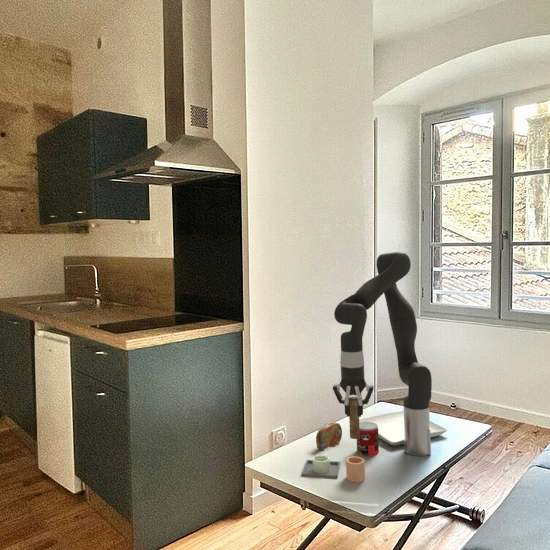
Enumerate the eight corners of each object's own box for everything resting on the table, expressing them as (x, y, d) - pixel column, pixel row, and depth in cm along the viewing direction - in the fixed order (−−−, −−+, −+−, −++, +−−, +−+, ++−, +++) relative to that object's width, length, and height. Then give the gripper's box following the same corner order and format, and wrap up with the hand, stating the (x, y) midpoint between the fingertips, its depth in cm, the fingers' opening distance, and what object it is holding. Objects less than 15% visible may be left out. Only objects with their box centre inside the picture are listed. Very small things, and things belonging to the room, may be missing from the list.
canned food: (353, 452, 187) (352, 423, 186) (371, 448, 190) (370, 420, 189) (363, 460, 180) (363, 430, 179) (382, 456, 183) (382, 426, 182)
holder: (330, 466, 173) (330, 455, 173) (328, 474, 168) (328, 462, 167) (314, 465, 175) (314, 454, 174) (311, 472, 169) (311, 461, 169)
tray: (340, 466, 175) (340, 461, 175) (337, 481, 164) (337, 475, 164) (307, 464, 178) (306, 459, 178) (301, 478, 167) (301, 473, 167)
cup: (365, 477, 166) (364, 456, 166) (364, 485, 160) (364, 464, 160) (347, 476, 168) (346, 455, 167) (346, 484, 162) (345, 463, 161)
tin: (321, 454, 186) (321, 432, 186) (314, 452, 188) (314, 430, 188) (343, 441, 198) (342, 420, 197) (336, 439, 200) (335, 419, 199)
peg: (360, 435, 164) (358, 396, 164) (359, 439, 161) (358, 399, 161) (350, 435, 165) (349, 396, 164) (349, 438, 162) (348, 399, 161)
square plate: (354, 428, 212) (353, 419, 212) (406, 417, 223) (405, 409, 223) (392, 451, 188) (392, 441, 187) (449, 437, 198) (448, 428, 198)
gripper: (374, 361, 164) (376, 412, 165) (332, 361, 167) (333, 411, 168) (373, 367, 157) (375, 420, 158) (329, 366, 160) (331, 419, 161)
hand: (354, 415), depth 163 cm, fingers closed on peg, 3 cm apart
